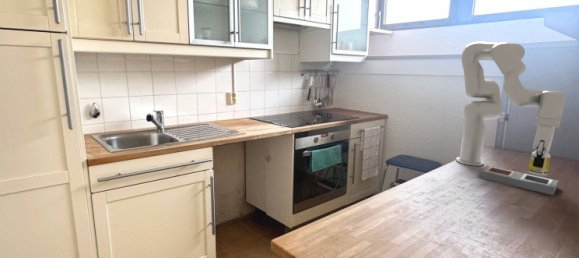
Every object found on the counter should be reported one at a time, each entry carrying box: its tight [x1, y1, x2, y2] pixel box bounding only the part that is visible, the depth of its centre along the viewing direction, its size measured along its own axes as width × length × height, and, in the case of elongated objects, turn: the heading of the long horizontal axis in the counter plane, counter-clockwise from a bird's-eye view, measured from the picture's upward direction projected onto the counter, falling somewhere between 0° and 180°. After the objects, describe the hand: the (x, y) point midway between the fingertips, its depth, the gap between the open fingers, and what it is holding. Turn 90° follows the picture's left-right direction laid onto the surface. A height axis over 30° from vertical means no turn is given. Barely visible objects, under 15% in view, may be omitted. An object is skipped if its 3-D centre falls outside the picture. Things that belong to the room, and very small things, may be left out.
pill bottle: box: [528, 147, 551, 177], centre depth 130 cm, size 6×6×11 cm
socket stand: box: [478, 165, 559, 196], centre depth 136 cm, size 12×26×3 cm, turn 45°
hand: (539, 164), depth 130 cm, fingers closed on pill bottle, 6 cm apart
